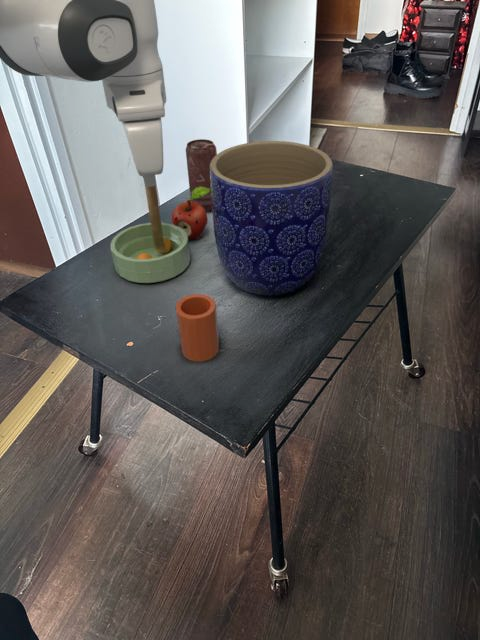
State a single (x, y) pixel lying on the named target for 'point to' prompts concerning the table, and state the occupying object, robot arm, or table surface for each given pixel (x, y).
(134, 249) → the bowl
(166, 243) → the bead
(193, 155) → the can
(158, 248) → the stick
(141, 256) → the bead
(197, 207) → the apple
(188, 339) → the crock
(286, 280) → the planter
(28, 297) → the table surface
